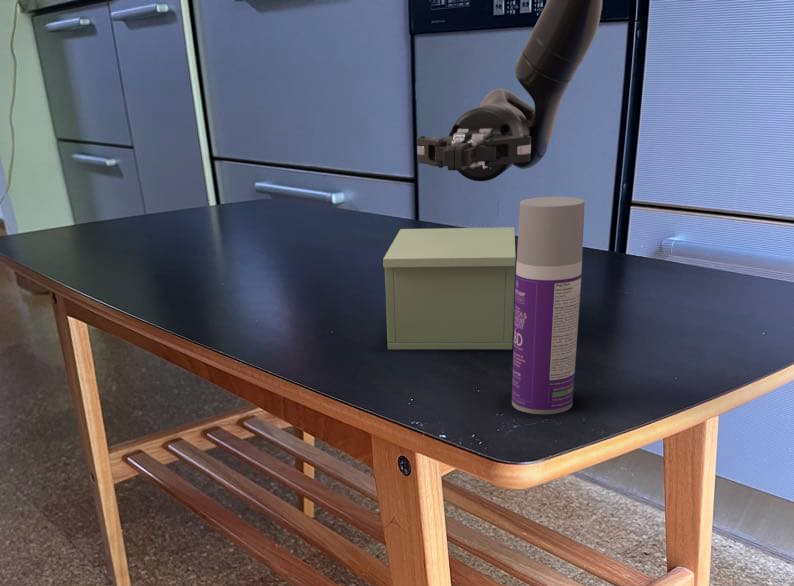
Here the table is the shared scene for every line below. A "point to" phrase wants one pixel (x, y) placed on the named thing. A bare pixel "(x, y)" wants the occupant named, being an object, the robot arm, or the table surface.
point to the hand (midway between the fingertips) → (454, 158)
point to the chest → (450, 307)
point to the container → (547, 303)
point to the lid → (452, 248)
